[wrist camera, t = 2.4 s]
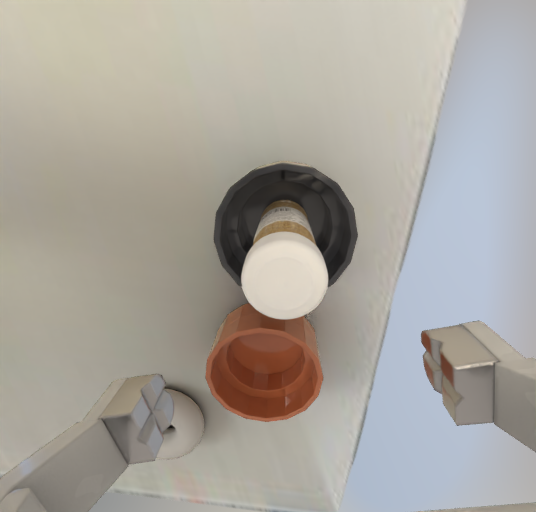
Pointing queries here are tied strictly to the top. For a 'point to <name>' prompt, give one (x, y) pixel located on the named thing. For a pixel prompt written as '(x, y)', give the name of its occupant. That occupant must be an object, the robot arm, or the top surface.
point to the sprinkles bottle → (284, 264)
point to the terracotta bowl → (264, 365)
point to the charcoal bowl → (294, 189)
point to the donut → (182, 428)
